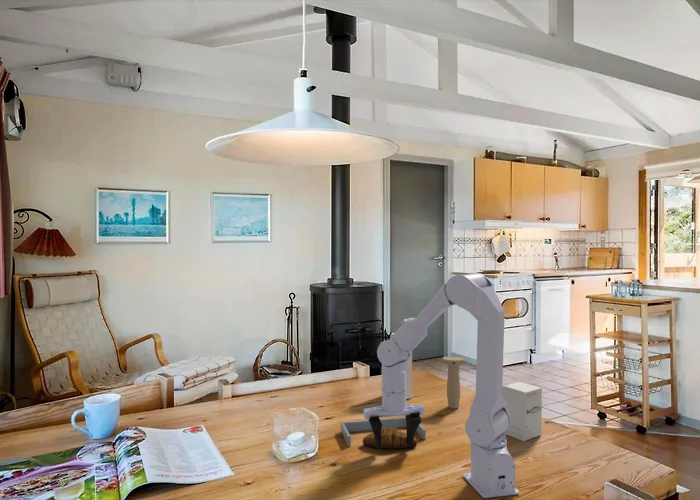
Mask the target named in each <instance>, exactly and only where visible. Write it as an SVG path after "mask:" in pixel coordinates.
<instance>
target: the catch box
mask: <svg viewBox="0 0 700 500" xmlns="http://www.w3.org/2000/svg"><path fill="white" fill-rule="evenodd" d="M379 419H380V422H381V423H382V428H385V427H393V428H396V429H398V428H399V429H400V428H407V426H406V416H405V417H402V416H401V417H393V418H392V417H391V418H390V417H389V418H379ZM340 424H341V425H340V432H341V434H342V436H343V438H344V441H345V443H346V445H347V447H351V445H352V444H351V442H352V441H351V439H352V438H351V434H350V433H351V432H353V433H354V432H364V431H373V430H372V427H371V425H370V422H369V420H368V419H367V420H366V419H364V420H357V421H354V420H353V421H341V423H340ZM426 430H427V429H425V428H424V426H423V425H422V424H421V423H420V424H419V426H418V428H417V430H416V432H415V433H417V435H418V436H419V437H420V438H421V439H422V440H423V441H424V440H426V437H427V436H426V433H427V432H426Z"/></svg>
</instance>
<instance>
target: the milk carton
mask: <svg viewBox="0 0 700 500" xmlns="http://www.w3.org/2000/svg"><path fill="white" fill-rule="evenodd" d="M389 340H390V339H388V340H387V341H389ZM412 398H413V350H412V351H411V355H410V358H409V359H408V360H407V367H406V400H409V399H412Z"/></svg>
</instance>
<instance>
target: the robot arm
mask: <svg viewBox="0 0 700 500" xmlns="http://www.w3.org/2000/svg"><path fill="white" fill-rule="evenodd" d="M453 306H458V307H459V308H462V309H464V310H465V311H467V312H468V313H469V314H470V315H471V316H473V317H474V318H475V320H476V321H477V329H476V330H477V333H476V334H477V337H476V338H477V339H476V363H475V364H476V366H475V367H476V369H475V370H476V372H475V374H476V375H475V395H474V398H473V401H472V402H471V404H470V408H469V410H470V411H469V415H468V418H467V420H466V422H465V427H464V429H465V433H466V435H467V437H468V439H469V440H470V472H466V473H463V475H462V476H463V477H464V479H465V480H466V481H467V482H468V483H469V484H470V485H471V486H472V487H473V489H474V490H475V491H476V492H477V493H478V494H479V495H480V497H482V498H484V499H489V498H496V497H506V496H514V495H519V494H520V490H519V489H517V488H516V462H515V460H514V458H513V457H512V455H511V454H510V452H509V451H508V446H507V442H508V441H507V436H506V434H505V432H506V431H507V430H508V429H509V427H510V424H511V418H510V415H509V413H508V410H507V401H506V400H505V399H504V398H503V396H502V386H503V378H504V377H503V376H504V375H503V374H504V344H505V343H504V340H505V316H506V315H505V314H506V313H505V310H504V307H503V305H502V303H501V301H500V298H499V297H498V295H497V293H496V291H495V283H494V282H493V281H492V280H491V279H489V278H488V277H487V276H485V275H484V274H482V273H480V272H471V273H468V274H456V275H453V276H451V277H450V278H449V279H448V280H447V282H445V283H443V284H442V285H441V286H440V287H439V289H438V291H437V293H436V294H435V295H434V296H433V297H432V298H431V299H430V301H429V302H428V303H427V304H426V306H424V308H423V309H422V310H421V311H420V313H419V314H417V316H416V317H409V318H404V319H403V320H402V321H401V322H400V323H401V326H400V327H399V328H398V329H397V330H396V331H395V332H392V333H391V334H390V335H389V339H388V340H389V341H388V340H383V341H380V343H379V345H378V347H377V351H376V354H377V355H376V356H377V359H378V360H379V362H380V363H381V405H378V406H374V407H368V408H363V418H364V420H369V422H370V425H371V427H372V430H371V431H372V433H374V436H375V441H376V446H377V449H378V450H382V448H381V429H382V423H381V422H380V419H381V418H388V417H389V418H390V417H391V418H392V417H400V416H401V417H402V416H405V417H406V426H407V427H406V432H405V433H406V440H407V444H408V445H409V446H412V443H413V439H414V438H415V434H416V433H417V432H416V430H417V428H418V426H419V424H421V423H422V417H421V416H424V415H425V407H424V406H423V405H422V404H407V399H406V367H407V360H408V359H409V358H410V355H411V351H412V352H413V350H414V349H416V348H417V347H418V346H419V344H420V343H421V342H422V341H423V340H425V338H426V337H427V336H428V327H430V326H431V324H432V325H433V323H434V322H435V321H436V320H437V319H438V318H439V317H440V316H442V314H444V313H445V312H446V311H447V310H448V309H449V308H450V307H453Z"/></svg>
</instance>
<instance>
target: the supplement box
mask: <svg viewBox="0 0 700 500" xmlns="http://www.w3.org/2000/svg"><path fill="white" fill-rule="evenodd" d="M542 391H543V390H542V387H539V386H535V385H532V384H528V383H525V382H521V381H516V382H513V383H510V384H507V385H506V384H505V385H502V396H503V398H504V399H505V400H506V401H507V410H508V413H509V415H510V418H511V424H510V427H509V429H508V430H507V431H506V432H505V435H507V436H509V437H512V438H513V439H517V440H519V441H521V442H526V441H528V440H532V439H533V438H536V437H540V436H541V435H542V419H543V418H542V414H543V413H542V412H543V411H542V409H543V408H542V402H543V401H542V400H543V399H542V397H543V396H542Z"/></svg>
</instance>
